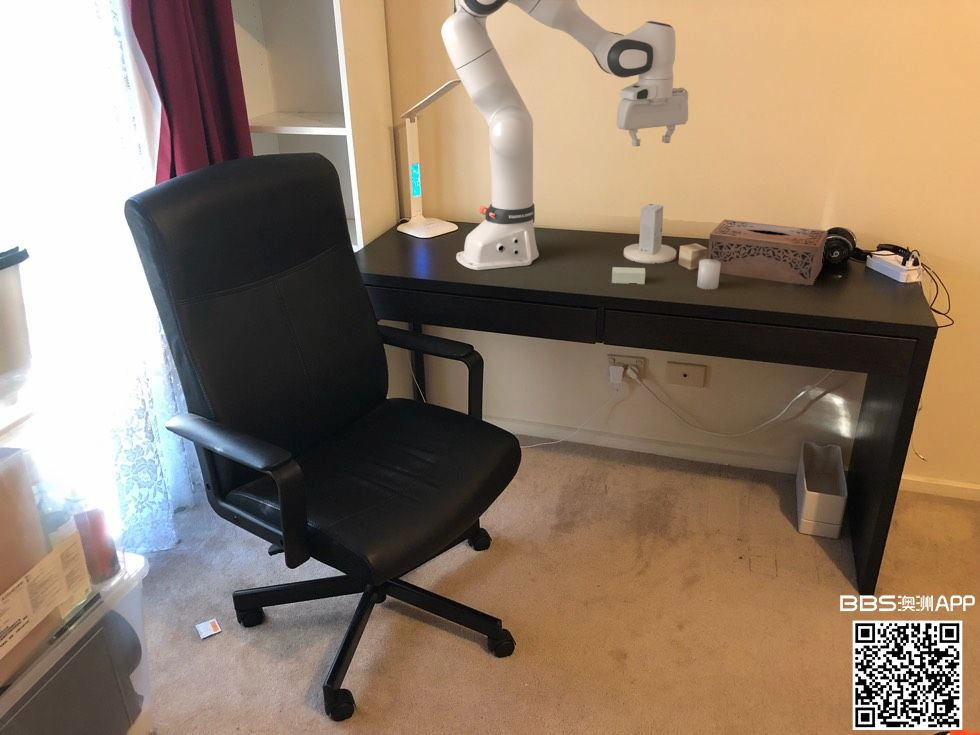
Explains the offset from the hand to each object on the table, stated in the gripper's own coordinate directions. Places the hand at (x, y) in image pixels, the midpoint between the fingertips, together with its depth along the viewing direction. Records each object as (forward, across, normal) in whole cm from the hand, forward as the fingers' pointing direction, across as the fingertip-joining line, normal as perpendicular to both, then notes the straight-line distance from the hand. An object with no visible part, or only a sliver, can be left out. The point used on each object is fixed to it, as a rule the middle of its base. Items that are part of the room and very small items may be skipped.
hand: (651, 144), depth 213 cm
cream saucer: (+28, +4, +8) cm, 29 cm away
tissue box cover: (+28, -16, +31) cm, 45 cm away
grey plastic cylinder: (+28, +4, +34) cm, 44 cm away
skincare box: (+27, +4, +8) cm, 28 cm away
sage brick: (+28, +19, +23) cm, 41 cm away
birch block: (+28, -2, +20) cm, 34 cm away
